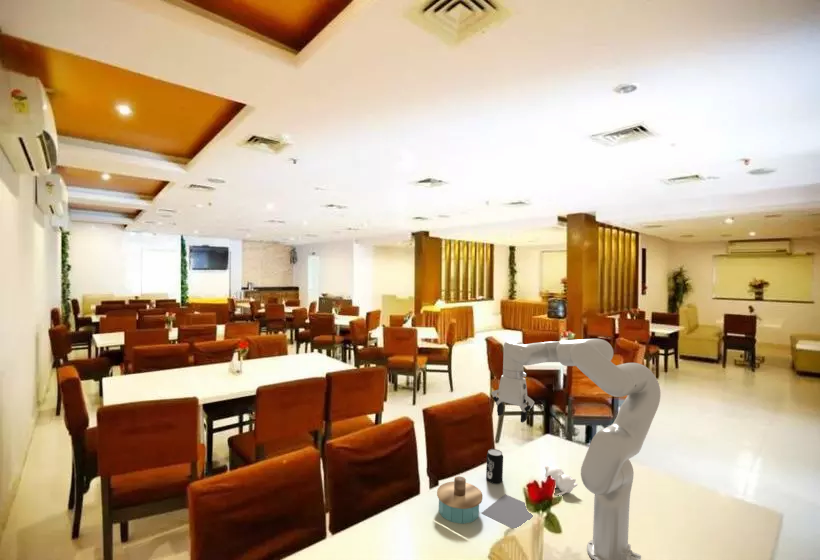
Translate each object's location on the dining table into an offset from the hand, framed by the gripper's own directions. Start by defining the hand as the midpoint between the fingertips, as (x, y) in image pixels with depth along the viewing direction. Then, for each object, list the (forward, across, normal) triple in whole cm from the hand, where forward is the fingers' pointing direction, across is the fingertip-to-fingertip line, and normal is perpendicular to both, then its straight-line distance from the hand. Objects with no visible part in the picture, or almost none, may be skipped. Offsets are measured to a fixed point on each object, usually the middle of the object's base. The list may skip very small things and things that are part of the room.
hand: (511, 418), depth 153 cm
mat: (+30, -7, +9) cm, 32 cm away
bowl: (+30, +8, +22) cm, 38 cm away
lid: (+24, +8, +22) cm, 34 cm away
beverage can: (+31, +10, -6) cm, 33 cm away
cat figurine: (+31, -12, -18) cm, 37 cm away
